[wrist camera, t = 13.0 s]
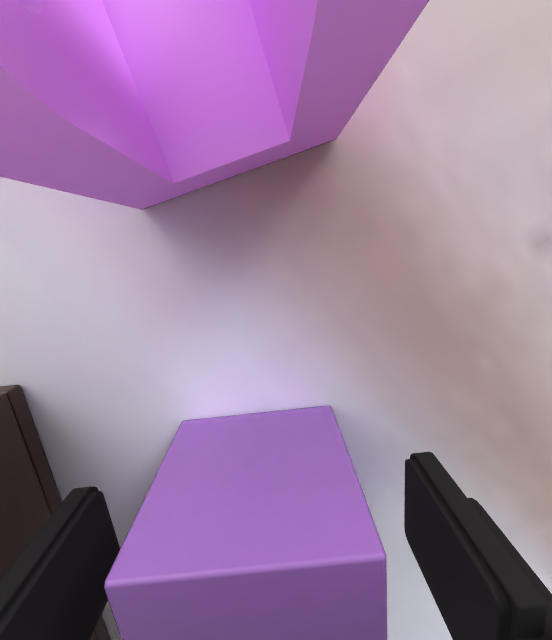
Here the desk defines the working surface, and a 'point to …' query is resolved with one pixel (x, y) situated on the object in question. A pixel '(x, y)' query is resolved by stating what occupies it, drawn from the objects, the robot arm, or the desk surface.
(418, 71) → the desk surface
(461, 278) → the desk surface
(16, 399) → the wooden box
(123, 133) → the bracket
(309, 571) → the lavender block
